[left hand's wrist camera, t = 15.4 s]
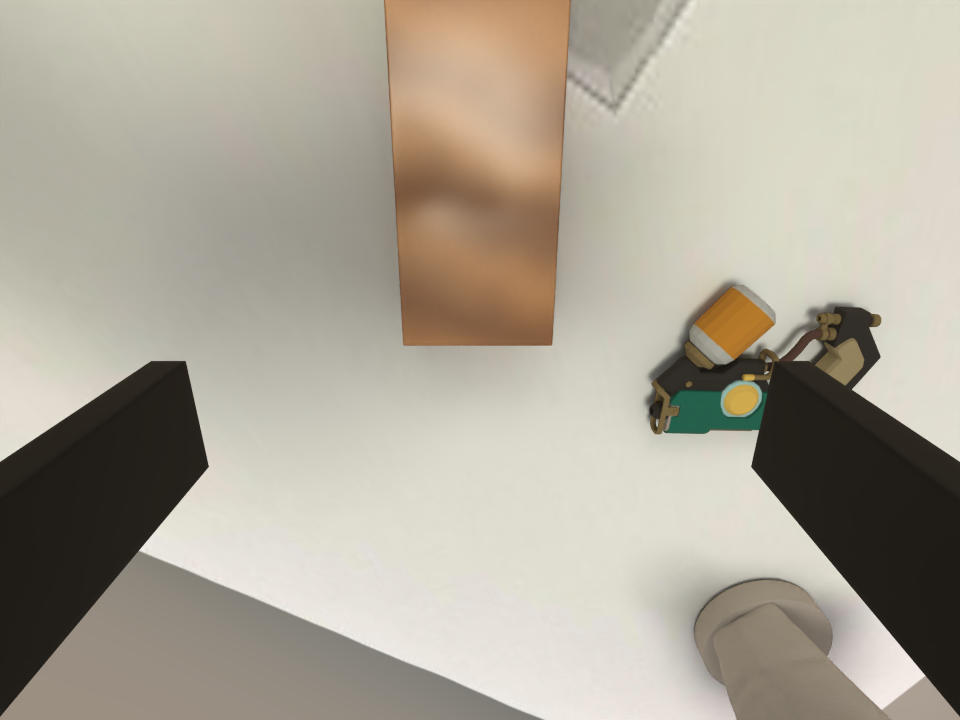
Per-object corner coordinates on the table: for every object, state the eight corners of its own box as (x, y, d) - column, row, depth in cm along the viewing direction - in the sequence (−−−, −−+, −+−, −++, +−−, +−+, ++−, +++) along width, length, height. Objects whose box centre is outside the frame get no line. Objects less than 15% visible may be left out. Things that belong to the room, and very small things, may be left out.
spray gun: (883, 314, 45) (785, 458, 51) (708, 251, 42) (625, 412, 48) (924, 333, 41) (813, 487, 47) (734, 266, 38) (640, 439, 44)
